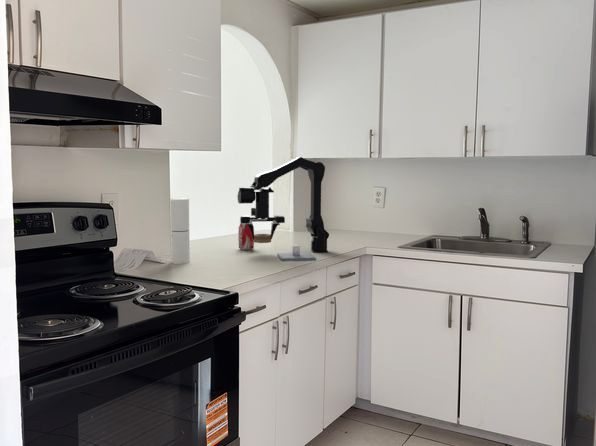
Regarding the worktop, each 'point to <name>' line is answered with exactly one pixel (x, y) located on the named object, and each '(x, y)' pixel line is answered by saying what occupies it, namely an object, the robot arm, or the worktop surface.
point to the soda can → (245, 237)
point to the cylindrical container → (180, 230)
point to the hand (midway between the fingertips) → (262, 239)
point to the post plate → (296, 255)
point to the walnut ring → (262, 238)
